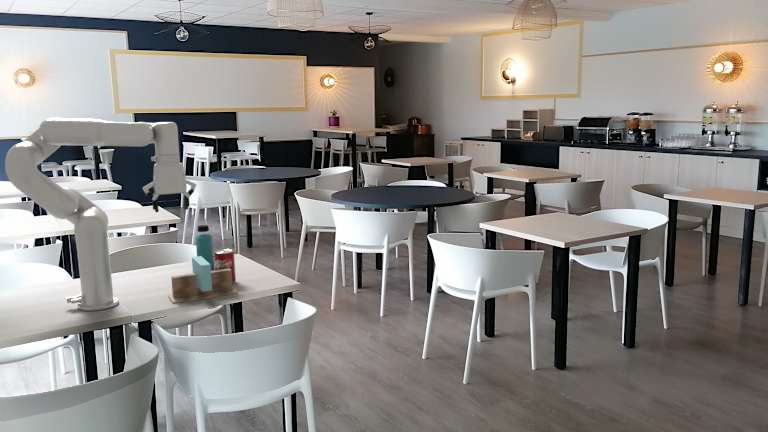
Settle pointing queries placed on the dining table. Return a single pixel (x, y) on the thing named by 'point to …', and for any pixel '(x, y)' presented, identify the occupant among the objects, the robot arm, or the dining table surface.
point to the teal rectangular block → (202, 273)
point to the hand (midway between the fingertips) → (171, 210)
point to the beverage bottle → (205, 245)
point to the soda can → (225, 261)
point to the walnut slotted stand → (189, 291)
